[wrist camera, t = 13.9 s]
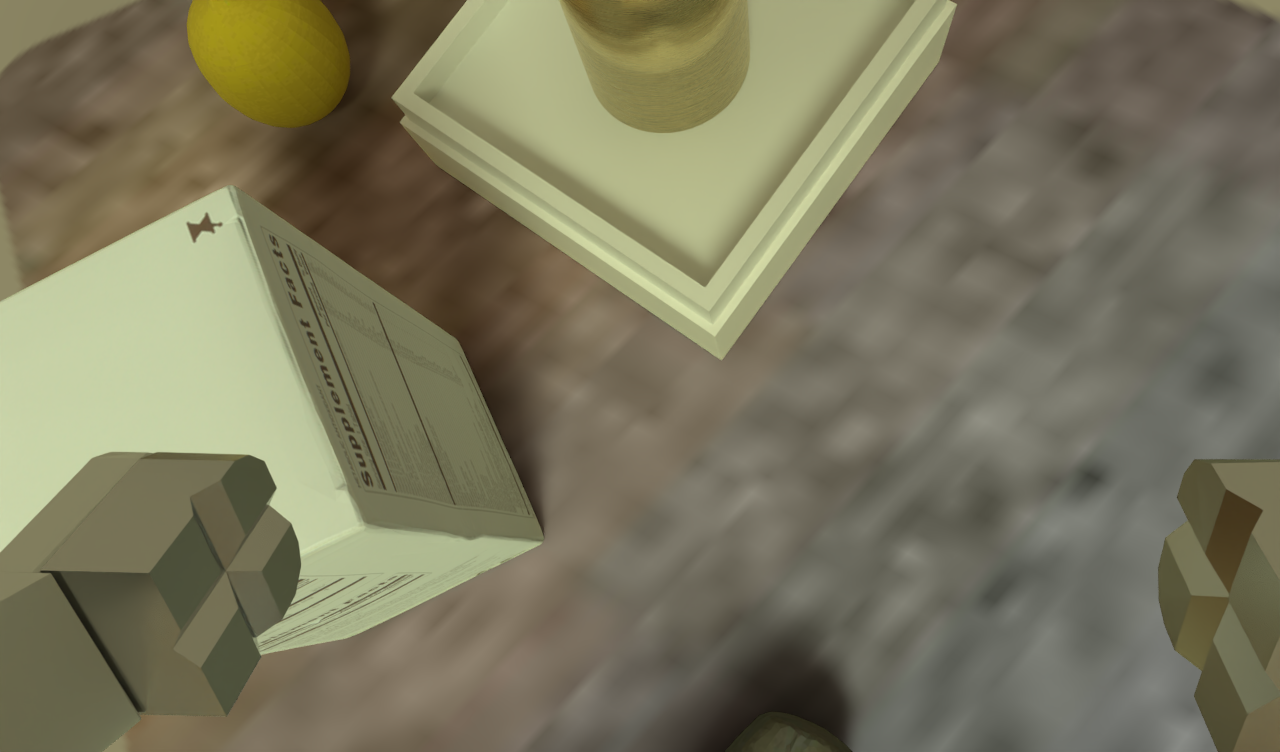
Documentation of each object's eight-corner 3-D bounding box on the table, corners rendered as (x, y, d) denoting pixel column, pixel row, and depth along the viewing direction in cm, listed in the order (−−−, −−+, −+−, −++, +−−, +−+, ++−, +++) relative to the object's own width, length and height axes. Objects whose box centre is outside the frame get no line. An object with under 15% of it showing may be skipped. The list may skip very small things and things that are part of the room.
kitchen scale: (945, 53, 38) (973, -36, 32) (721, 360, 37) (711, 323, 31) (648, -112, 41) (627, -218, 36) (435, 164, 40) (380, 100, 35)
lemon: (322, 19, 43) (220, -102, 35) (404, 89, 41) (317, -21, 34) (238, 108, 42) (116, 5, 35) (317, 181, 41) (209, 92, 33)
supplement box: (261, 431, 39) (-110, 335, 23) (458, 332, 39) (225, 161, 22) (341, 649, 37) (-7, 716, 20) (552, 546, 36) (368, 530, 20)
